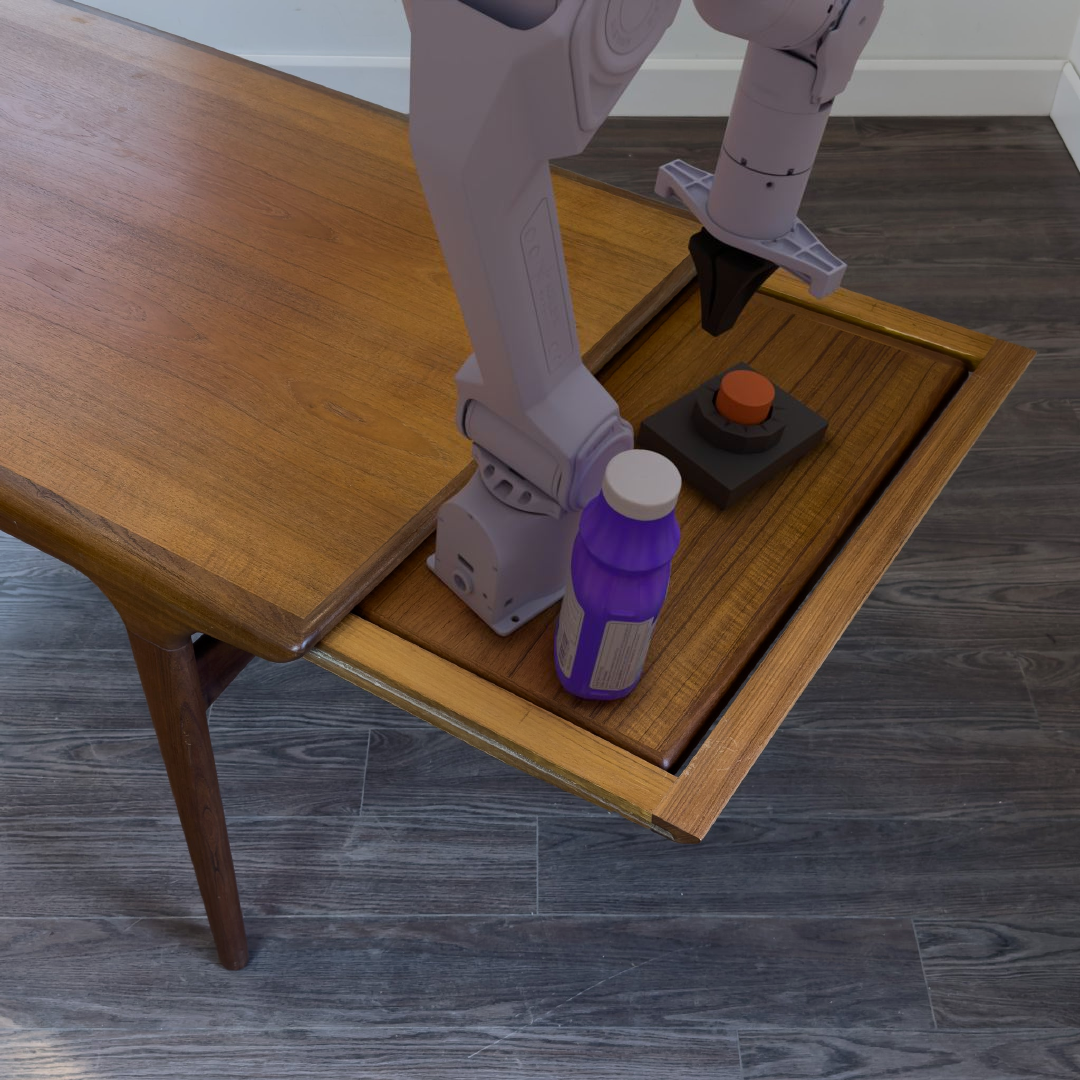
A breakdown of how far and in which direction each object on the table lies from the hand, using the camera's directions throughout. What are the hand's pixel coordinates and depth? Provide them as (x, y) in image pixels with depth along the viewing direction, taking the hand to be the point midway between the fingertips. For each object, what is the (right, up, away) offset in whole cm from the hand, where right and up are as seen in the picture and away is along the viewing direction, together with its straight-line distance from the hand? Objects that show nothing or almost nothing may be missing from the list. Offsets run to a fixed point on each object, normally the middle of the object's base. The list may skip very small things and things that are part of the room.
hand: (716, 327), depth 78 cm
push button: (+3, -5, +5) cm, 8 cm away
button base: (+2, -7, +8) cm, 11 cm away
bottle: (-9, -23, -7) cm, 26 cm away
